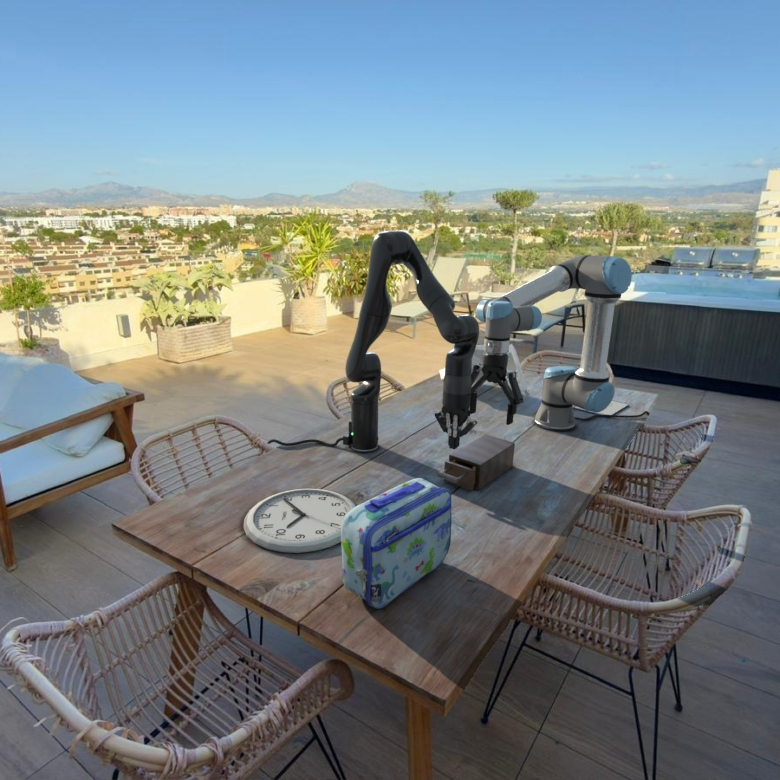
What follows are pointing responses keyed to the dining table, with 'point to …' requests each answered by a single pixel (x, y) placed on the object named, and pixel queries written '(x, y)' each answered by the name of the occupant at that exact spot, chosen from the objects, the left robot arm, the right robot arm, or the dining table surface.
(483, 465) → the cabinet
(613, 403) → the invitation card
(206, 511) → the dining table surface
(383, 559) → the lunch box
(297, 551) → the wall clock
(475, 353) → the white plastic object
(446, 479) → the drawer
